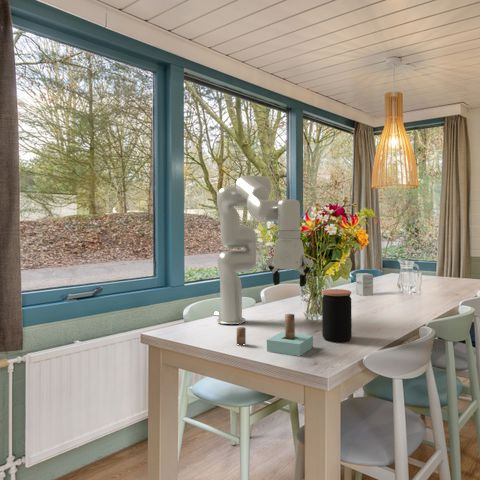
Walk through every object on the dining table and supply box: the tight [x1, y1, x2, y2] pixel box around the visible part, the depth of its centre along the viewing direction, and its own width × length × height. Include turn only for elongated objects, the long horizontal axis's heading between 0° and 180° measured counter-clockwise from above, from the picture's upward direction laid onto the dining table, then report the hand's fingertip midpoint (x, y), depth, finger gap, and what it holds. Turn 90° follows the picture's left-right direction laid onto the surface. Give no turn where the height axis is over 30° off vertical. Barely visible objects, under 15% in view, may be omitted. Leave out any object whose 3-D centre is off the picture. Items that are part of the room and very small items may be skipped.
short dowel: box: [236, 326, 247, 345], centre depth 157 cm, size 3×3×6 cm
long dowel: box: [284, 313, 296, 340], centre depth 151 cm, size 3×3×12 cm
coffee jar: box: [321, 288, 353, 344], centre depth 163 cm, size 11×11×18 cm
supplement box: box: [355, 272, 374, 297], centre depth 261 cm, size 7×7×13 cm
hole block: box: [266, 331, 314, 357], centre depth 151 cm, size 12×12×4 cm
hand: (289, 285), depth 150 cm, fingers open, 9 cm apart
